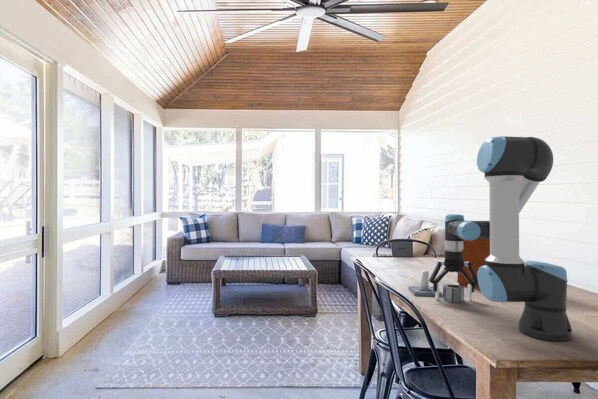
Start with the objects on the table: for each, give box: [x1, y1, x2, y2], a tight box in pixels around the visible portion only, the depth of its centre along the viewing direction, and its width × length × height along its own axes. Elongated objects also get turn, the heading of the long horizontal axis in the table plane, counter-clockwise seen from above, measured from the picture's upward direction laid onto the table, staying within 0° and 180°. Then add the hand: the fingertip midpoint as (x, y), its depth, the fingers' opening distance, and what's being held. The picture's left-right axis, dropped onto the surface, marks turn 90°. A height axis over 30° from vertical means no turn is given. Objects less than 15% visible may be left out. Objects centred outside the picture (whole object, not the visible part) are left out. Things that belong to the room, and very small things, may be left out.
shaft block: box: [408, 269, 443, 297], centre depth 181 cm, size 12×12×10 cm
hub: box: [442, 283, 465, 304], centre depth 168 cm, size 8×8×6 cm
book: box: [456, 239, 490, 288], centre depth 195 cm, size 23×8×30 cm, turn 73°
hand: (453, 299), depth 168 cm, fingers open, 13 cm apart
